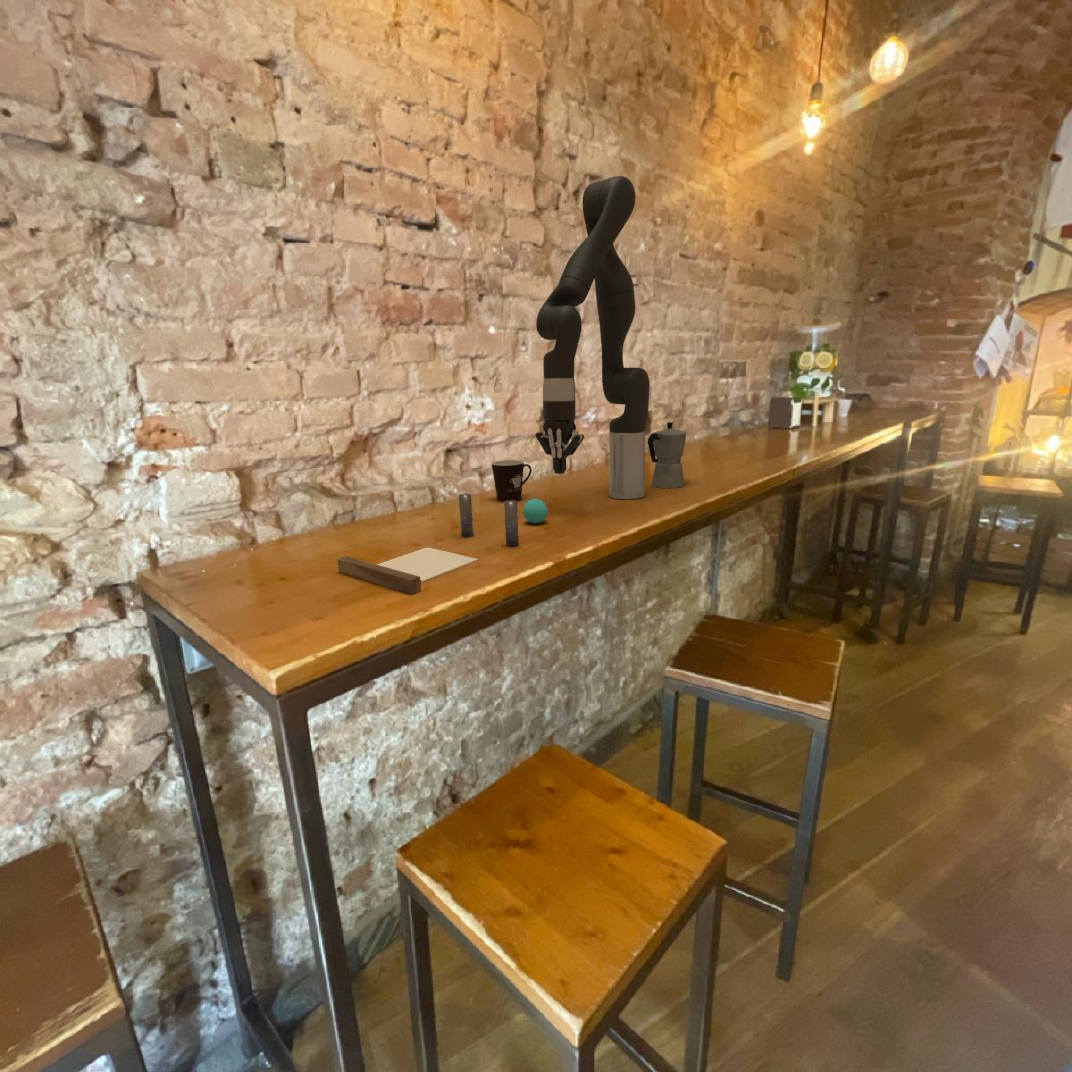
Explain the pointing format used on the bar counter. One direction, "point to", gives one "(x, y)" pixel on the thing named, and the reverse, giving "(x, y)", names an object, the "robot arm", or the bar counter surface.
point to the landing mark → (428, 563)
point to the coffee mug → (509, 479)
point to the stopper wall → (380, 575)
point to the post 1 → (466, 515)
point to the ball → (535, 511)
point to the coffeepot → (667, 457)
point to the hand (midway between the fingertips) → (559, 473)
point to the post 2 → (511, 523)
